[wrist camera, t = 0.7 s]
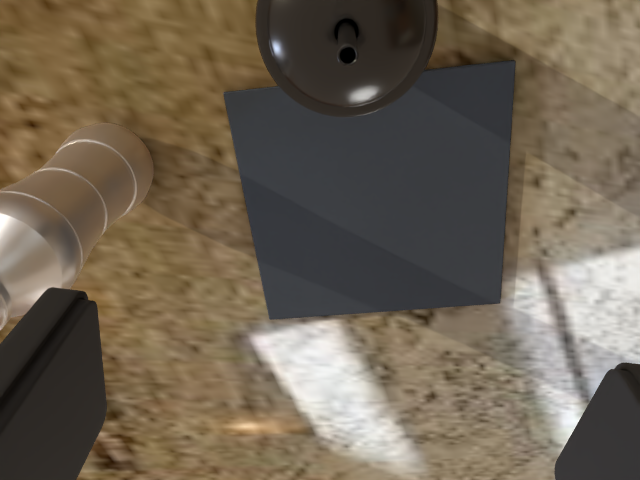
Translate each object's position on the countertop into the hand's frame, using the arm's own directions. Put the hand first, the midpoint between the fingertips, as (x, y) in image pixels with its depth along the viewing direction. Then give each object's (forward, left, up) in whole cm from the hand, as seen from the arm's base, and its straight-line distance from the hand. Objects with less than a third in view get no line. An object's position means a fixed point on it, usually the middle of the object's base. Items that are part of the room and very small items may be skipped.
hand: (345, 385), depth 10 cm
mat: (+11, +2, -30) cm, 32 cm away
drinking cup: (-4, +1, -30) cm, 30 cm away
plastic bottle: (+5, -17, -30) cm, 35 cm away
